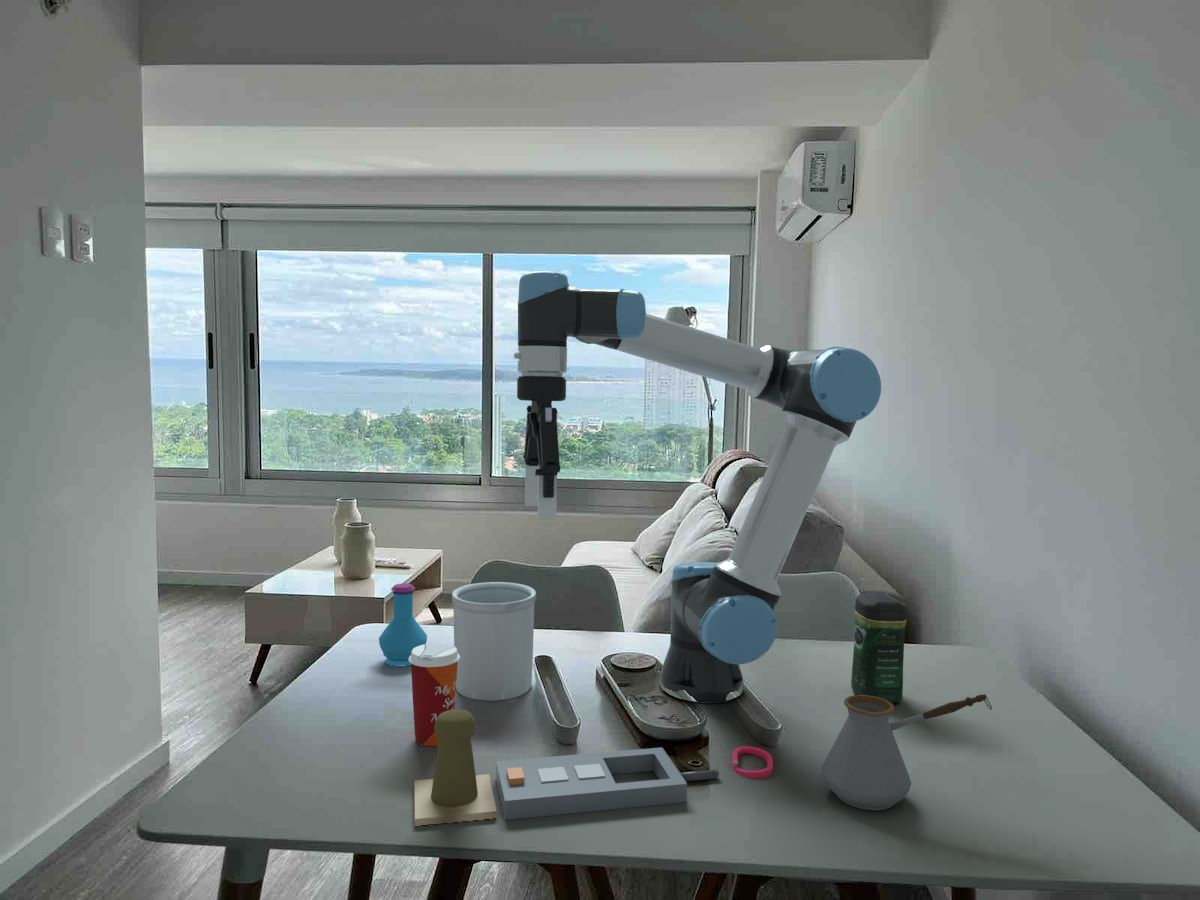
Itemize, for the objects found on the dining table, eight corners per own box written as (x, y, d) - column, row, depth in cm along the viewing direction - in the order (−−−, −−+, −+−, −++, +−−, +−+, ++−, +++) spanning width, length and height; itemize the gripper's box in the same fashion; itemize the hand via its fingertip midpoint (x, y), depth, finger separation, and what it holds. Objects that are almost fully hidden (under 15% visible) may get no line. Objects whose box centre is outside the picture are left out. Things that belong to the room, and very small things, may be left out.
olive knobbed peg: (456, 779, 111) (457, 700, 110) (487, 794, 107) (488, 712, 106) (421, 796, 106) (421, 713, 105) (451, 812, 102) (452, 726, 101)
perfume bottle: (436, 659, 162) (437, 584, 161) (402, 672, 154) (402, 593, 153) (403, 650, 167) (403, 577, 165) (368, 662, 159) (368, 586, 158)
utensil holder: (523, 706, 139) (524, 605, 138) (439, 699, 141) (440, 599, 140) (542, 676, 153) (544, 584, 152) (466, 670, 156) (467, 579, 154)
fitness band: (732, 752, 124) (732, 743, 123) (771, 756, 123) (771, 746, 123) (732, 778, 116) (732, 767, 115) (774, 782, 115) (774, 771, 115)
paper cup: (448, 752, 121) (448, 660, 120) (399, 747, 122) (399, 655, 121) (467, 731, 129) (467, 643, 127) (421, 726, 130) (421, 639, 129)
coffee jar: (909, 706, 142) (914, 601, 141) (864, 706, 142) (869, 601, 140) (887, 686, 152) (892, 587, 150) (845, 685, 152) (849, 587, 150)
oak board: (489, 781, 112) (489, 774, 112) (496, 818, 103) (496, 811, 103) (414, 787, 110) (414, 780, 110) (414, 826, 100) (414, 819, 100)
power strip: (704, 760, 120) (705, 738, 120) (733, 797, 109) (734, 773, 109) (495, 778, 113) (496, 755, 113) (504, 820, 102) (505, 794, 102)
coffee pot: (828, 814, 105) (833, 701, 104) (814, 773, 117) (819, 670, 116) (1001, 827, 103) (1008, 712, 102) (970, 783, 115) (976, 679, 113)
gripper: (508, 375, 137) (506, 500, 139) (528, 373, 113) (526, 526, 114) (552, 376, 139) (550, 500, 140) (582, 375, 114) (579, 525, 116)
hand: (539, 512), depth 127 cm, fingers open, 13 cm apart
